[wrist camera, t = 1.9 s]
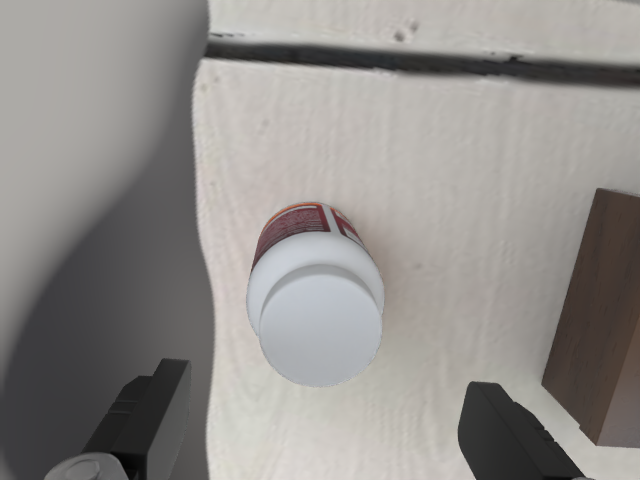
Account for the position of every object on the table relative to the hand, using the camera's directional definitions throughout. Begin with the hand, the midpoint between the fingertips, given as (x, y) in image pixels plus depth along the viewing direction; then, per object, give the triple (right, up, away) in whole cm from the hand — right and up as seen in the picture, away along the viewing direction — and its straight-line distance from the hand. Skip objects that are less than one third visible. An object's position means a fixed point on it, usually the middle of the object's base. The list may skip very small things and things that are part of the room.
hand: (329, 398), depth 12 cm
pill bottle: (-1, +4, +14) cm, 15 cm away
